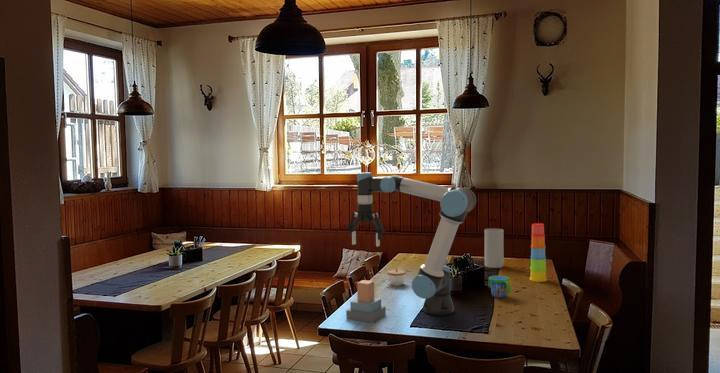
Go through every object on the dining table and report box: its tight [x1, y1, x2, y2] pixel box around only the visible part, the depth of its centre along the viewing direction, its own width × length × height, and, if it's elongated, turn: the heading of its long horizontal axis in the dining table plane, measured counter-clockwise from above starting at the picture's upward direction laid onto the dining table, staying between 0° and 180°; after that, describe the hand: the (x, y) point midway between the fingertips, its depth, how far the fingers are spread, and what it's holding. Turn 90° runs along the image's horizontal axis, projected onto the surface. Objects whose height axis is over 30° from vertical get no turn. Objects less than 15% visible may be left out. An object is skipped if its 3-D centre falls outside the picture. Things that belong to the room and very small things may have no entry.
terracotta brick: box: [356, 279, 375, 303], centre depth 257 cm, size 6×6×9 cm
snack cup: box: [487, 275, 511, 298], centre depth 288 cm, size 16×10×10 cm
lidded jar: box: [387, 268, 407, 287], centre depth 317 cm, size 11×11×9 cm
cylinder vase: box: [484, 228, 505, 269], centre depth 360 cm, size 12×12×25 cm
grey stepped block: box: [345, 297, 386, 324], centre depth 257 cm, size 14×14×8 cm
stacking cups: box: [529, 222, 548, 283], centre depth 321 cm, size 10×10×35 cm
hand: (365, 245), depth 268 cm, fingers open, 13 cm apart
